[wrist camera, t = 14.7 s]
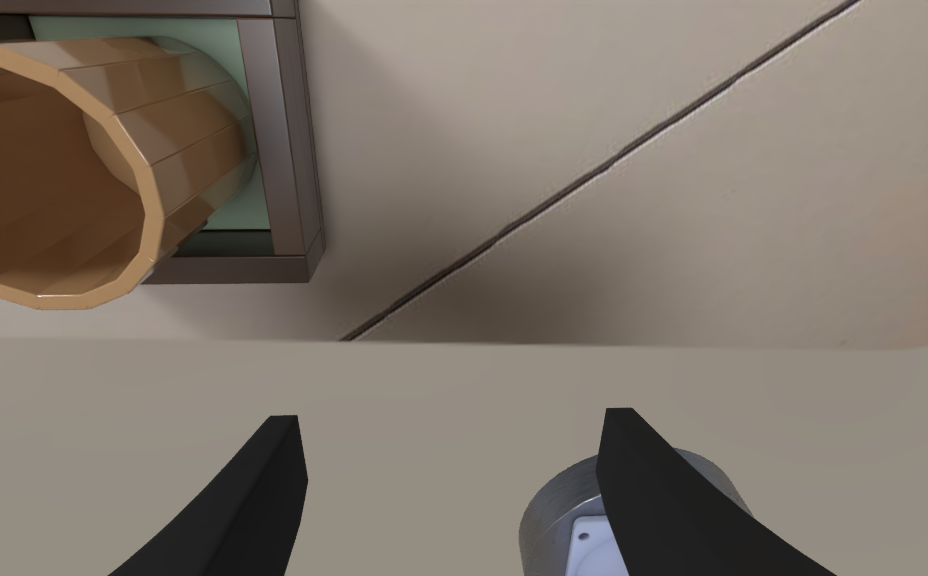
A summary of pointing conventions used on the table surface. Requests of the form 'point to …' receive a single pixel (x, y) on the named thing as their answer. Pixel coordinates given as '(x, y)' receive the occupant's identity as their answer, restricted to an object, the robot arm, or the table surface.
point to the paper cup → (111, 162)
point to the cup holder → (273, 113)
